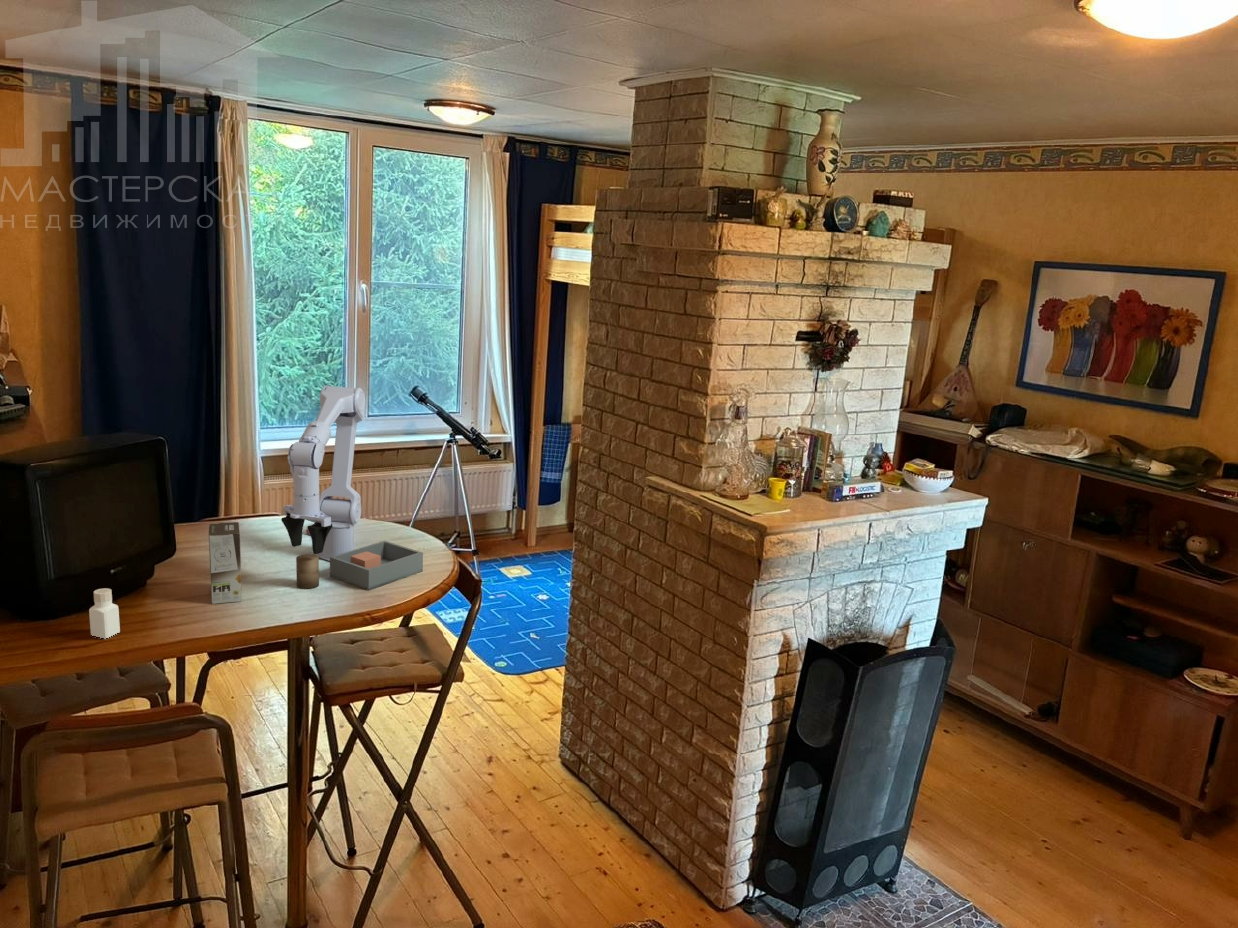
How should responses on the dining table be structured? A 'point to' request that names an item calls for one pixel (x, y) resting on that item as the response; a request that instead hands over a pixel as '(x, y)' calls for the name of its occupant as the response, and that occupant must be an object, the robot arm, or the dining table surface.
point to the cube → (366, 559)
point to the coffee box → (225, 562)
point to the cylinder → (307, 571)
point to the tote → (393, 566)
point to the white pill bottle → (104, 615)
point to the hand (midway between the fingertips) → (307, 549)
